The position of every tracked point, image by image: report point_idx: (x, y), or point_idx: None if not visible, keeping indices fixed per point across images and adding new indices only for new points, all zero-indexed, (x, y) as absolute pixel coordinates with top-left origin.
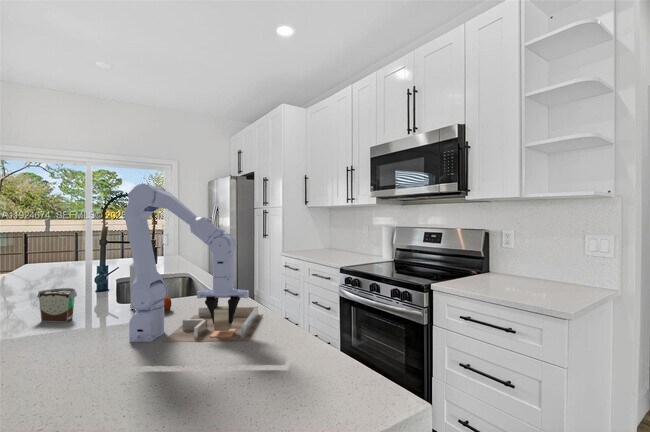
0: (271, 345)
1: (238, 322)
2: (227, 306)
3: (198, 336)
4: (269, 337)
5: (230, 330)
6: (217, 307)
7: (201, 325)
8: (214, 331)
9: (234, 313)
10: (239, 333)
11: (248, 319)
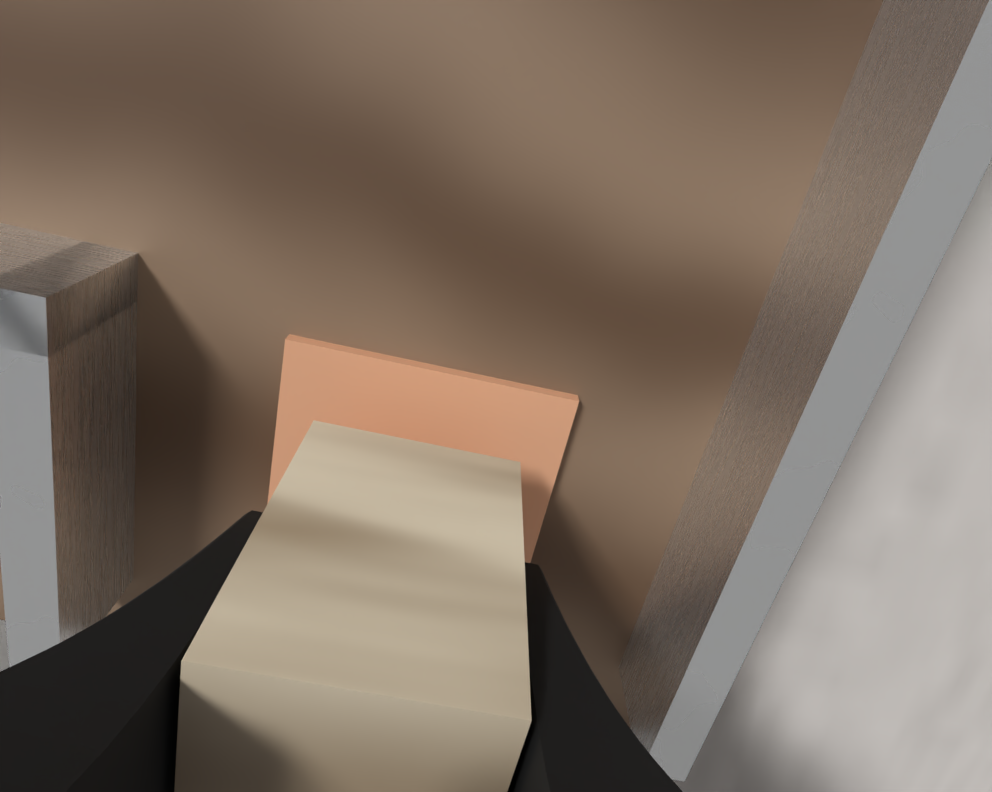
0: (884, 753)
1: (628, 25)
2: (426, 746)
3: (125, 562)
4: (934, 587)
5: (499, 443)
6: (196, 764)
7: (66, 542)
8: (282, 430)
9: (576, 650)
10: (613, 531)
11: (801, 494)
